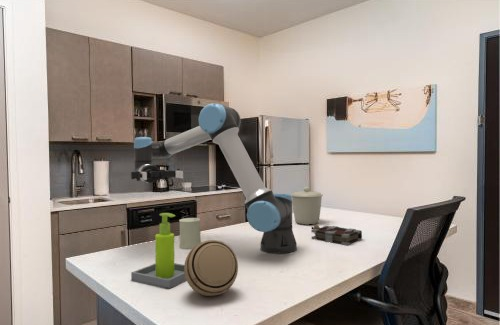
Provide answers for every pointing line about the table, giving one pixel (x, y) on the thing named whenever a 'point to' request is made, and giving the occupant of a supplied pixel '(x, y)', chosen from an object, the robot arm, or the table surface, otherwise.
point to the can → (189, 232)
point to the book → (336, 234)
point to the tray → (149, 277)
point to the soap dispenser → (164, 248)
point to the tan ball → (211, 268)
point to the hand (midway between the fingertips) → (164, 175)
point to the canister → (306, 206)
